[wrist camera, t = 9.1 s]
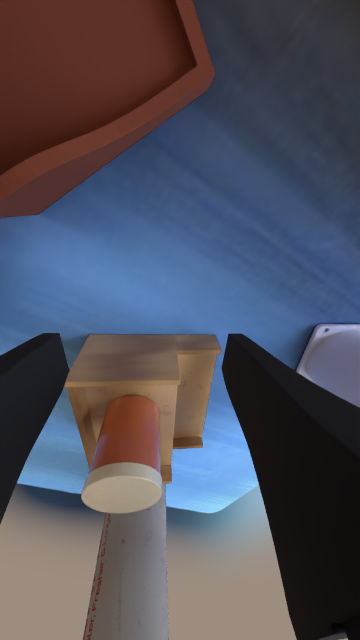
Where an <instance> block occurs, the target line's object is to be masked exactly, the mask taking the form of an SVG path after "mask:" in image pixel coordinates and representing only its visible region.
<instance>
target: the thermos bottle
mask: <svg viewBox="0 0 360 640" xmlns="http://www.w3.org/2000/svg"><path fill="white" fill-rule="evenodd" d="M167 589H168V587H167V561H166V484H162V496H161V498H160V499H159V501H158V502H157V503H155V504H154V505H152V506H150V507H148V508H146V509H143V510H140V511H136V512H130V513H106V512H105V518H104V524H103V529H102V536H101V541H100V546H99V552H98V557H97V563H96V570H95V574H94V580H93V586H92V591H91V598H90V603H89V608H88V614H87V619H86V625H85V631H84V637H83V640H169V638H168V590H167Z"/></svg>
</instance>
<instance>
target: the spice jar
mask: <svg viewBox="0 0 360 640" xmlns="http://www.w3.org/2000/svg"><path fill="white" fill-rule="evenodd" d="M161 496H162V477H161V425H160V409H159V407H158V405H157V404H156V403H155V402H154V401H152V400H151V399H149V398H146V397H143V396H138V395H128V396H123V397H120V398H117V399H115V400H113V401H112V402H111V403H110V404H109V405H108V406H107V408H106V410H105V414H104V417H103V421H102V425H101V429H100V433H99V436H98V440H97V444H96V448H95V451H94V455H93V459H92V463H91V467H90V470H89V474H88V476H87V478H86V480H85V483H84V487H83V490H82V494H81V497H82V501H83V502H84V503H85V504H86V505H87V506H88V507H90V508H92V509H95V510H98V511H101V512H106V513H130V512H136V511H140V510H143V509H146V508H148V507H150V506H152V505H154V504H155V503H157V502H158V501H159V499H160V498H161Z"/></svg>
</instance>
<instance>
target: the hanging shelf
mask: <svg viewBox="0 0 360 640" xmlns="http://www.w3.org/2000/svg"><path fill="white" fill-rule="evenodd" d="M214 75H215V71H214V68H213V65H212V62H211V58H210V55H209V52H208V49H207V46H206V43H205V39H204V36H203V33H202V30H201V27H200V24H199V20H198V17H197V14H196V11H195V8H194V4H193V1H192V0H0V218H1V217H13V216H25V215H38V214H40V213H41V212H42V211H44V210H45V209H46V208H48V207H49V206H50V205H52V204H53V203H54V202H56V201H57V200H59V199H60V198H61V197H63V196H64V195H65V194H67V193H68V192H69V191H71V190H72V189H73V188H75V187H76V186H78V185H79V184H80V183H82V182H83V181H84V180H86V179H87V178H88V177H90V176H91V175H93V174H94V173H95V172H97V171H98V170H99V169H101V168H102V167H103V166H105V165H106V164H108V163H109V162H110V161H112V160H113V159H114V158H116V157H117V156H118V155H120V154H121V153H123V152H124V151H125V150H127V149H128V148H129V147H131V146H132V145H133V144H135V143H136V142H138V141H139V140H140V139H142V138H143V137H144V136H146V135H147V134H148V133H150V132H151V131H152V130H154V129H155V128H157V127H158V126H159V125H161V124H162V123H163V122H165V121H166V120H167V119H169V118H170V117H172V116H173V115H174V114H176V113H177V112H178V111H180V110H181V109H182V108H184V107H185V106H187V105H188V104H189V103H191V102H192V101H193V100H195V99H196V98H197V97H199V96H200V95H202V94H203V93H204V92H206V91H207V90H208V89H209V87H210V85H211V82H212V80H213V77H214Z"/></svg>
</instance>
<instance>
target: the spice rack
mask: <svg viewBox="0 0 360 640" xmlns="http://www.w3.org/2000/svg"><path fill="white" fill-rule="evenodd" d="M221 353H222V349H221V347H220V344H219V342H218V340H217V337H216V335H146V334H89V336H88V338H87V340H86V342H85V343H84V345H83V347H82V349H81V351H80V353H79V354H78V356H77V358H76V360H75V362H74V364H73V365H72V367H71V369H70V371H69V373H68V376H67V379H66V382H65V385H64V386H65V387H67V390H68V394H69V397H70V401H71V404H72V408H73V412H74V415H75V419H76V422H77V426H78V429H79V433H80V436H81V440H82V443H83V447H84V450H85V454H86V458H87V461H88V465H89V468H90V467H91V463H92V459H93V455H94V451H95V448H96V444H97V440H98V436H99V433H100V429H101V425H102V421H103V417H104V414H105V410H106V408H107V406H108V405H109V404H110V403H111V402H112V401H113V400H115V399H117V398H120V397H123V396H128V395H138V396H143V397H146V398H149V399H151V400H152V401H154V402H155V403H156V404H157V405H158V407H159V409H160V425H161V477H162V484H167V483H172V473H171V461H172V449H186V448H202V447H203V442H202V432H203V427H204V422H205V416H206V411H207V406H208V400H209V395H210V390H211V384H212V379H213V374H214V368H215V363H216V358H217V354H221Z"/></svg>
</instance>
